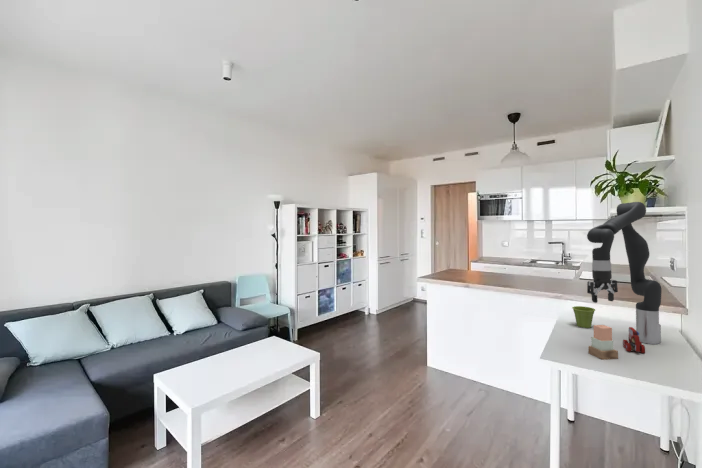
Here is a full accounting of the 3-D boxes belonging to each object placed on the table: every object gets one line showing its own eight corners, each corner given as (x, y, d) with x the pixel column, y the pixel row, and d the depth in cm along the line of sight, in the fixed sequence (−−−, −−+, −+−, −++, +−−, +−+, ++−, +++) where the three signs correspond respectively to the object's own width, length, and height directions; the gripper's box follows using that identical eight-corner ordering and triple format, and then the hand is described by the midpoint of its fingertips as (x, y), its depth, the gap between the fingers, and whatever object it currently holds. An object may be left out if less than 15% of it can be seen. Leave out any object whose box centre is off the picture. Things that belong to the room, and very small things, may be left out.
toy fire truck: (628, 353, 161) (628, 332, 161) (621, 345, 172) (621, 325, 172) (647, 355, 158) (646, 334, 157) (639, 347, 169) (638, 327, 168)
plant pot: (567, 324, 209) (567, 306, 209) (584, 323, 211) (584, 305, 210) (582, 330, 198) (582, 311, 197) (600, 328, 199) (600, 310, 199)
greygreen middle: (602, 345, 162) (602, 336, 162) (613, 350, 156) (613, 340, 156) (591, 346, 162) (591, 337, 162) (601, 350, 156) (601, 341, 156)
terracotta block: (603, 336, 161) (603, 324, 161) (612, 340, 156) (611, 328, 156) (593, 337, 161) (593, 325, 161) (601, 340, 156) (601, 328, 156)
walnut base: (603, 353, 163) (603, 345, 163) (618, 359, 155) (617, 350, 155) (588, 353, 162) (588, 345, 162) (602, 360, 154) (602, 351, 154)
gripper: (608, 267, 167) (609, 299, 167) (582, 269, 165) (583, 301, 166) (621, 269, 159) (622, 302, 160) (594, 271, 158) (596, 304, 158)
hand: (602, 301), depth 163 cm, fingers open, 8 cm apart
